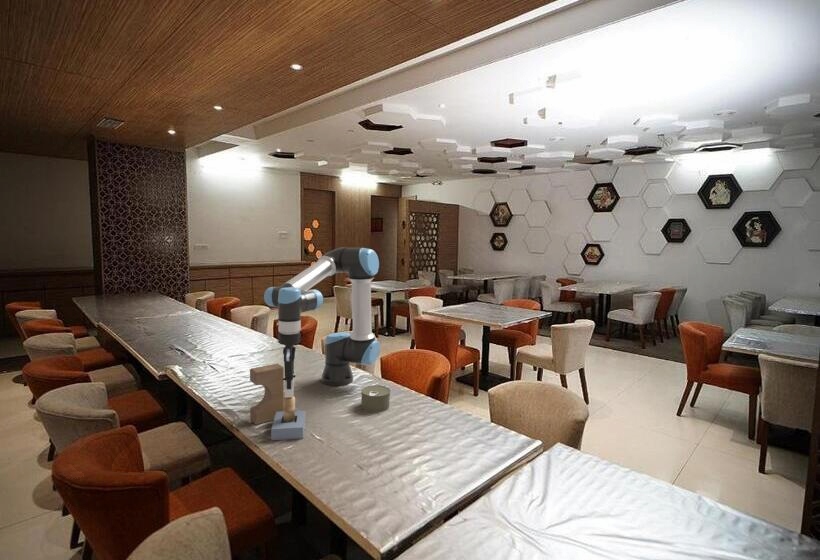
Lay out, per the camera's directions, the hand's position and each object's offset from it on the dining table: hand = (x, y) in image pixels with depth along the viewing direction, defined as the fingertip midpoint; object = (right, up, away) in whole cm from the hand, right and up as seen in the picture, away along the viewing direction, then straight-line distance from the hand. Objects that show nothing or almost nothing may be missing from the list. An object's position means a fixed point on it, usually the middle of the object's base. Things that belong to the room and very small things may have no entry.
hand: (289, 396), depth 147 cm
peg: (-1, -12, +1) cm, 12 cm away
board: (0, -12, +1) cm, 12 cm away
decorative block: (-11, -11, +10) cm, 19 cm away
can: (+29, -11, +24) cm, 39 cm away
